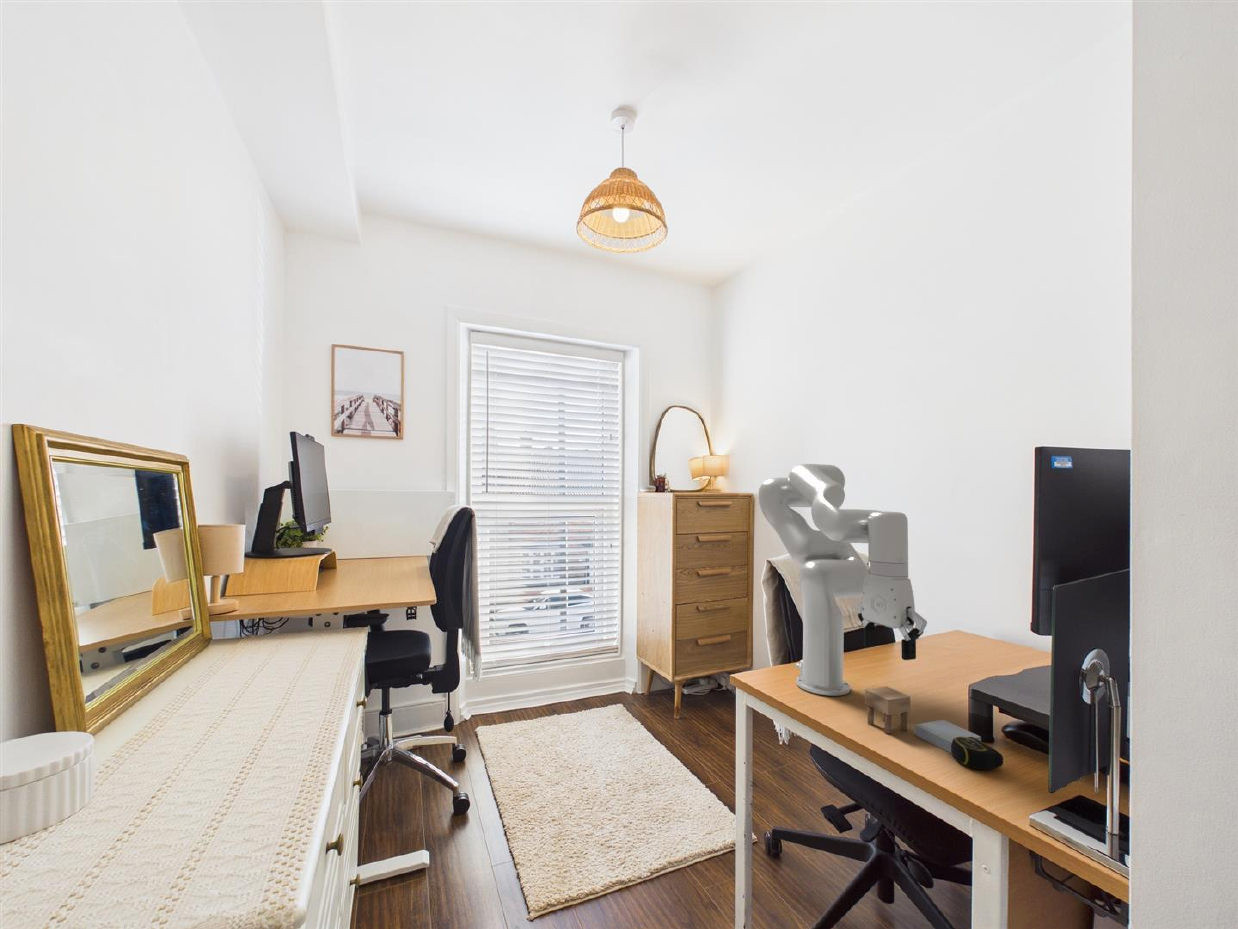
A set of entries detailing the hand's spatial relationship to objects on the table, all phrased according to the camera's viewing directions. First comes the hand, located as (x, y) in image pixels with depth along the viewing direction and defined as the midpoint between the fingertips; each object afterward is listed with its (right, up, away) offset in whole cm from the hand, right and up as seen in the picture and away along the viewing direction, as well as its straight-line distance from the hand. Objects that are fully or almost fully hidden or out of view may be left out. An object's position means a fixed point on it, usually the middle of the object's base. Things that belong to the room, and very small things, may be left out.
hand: (888, 652), depth 112 cm
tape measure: (+9, -16, -14) cm, 23 cm away
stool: (0, -16, 0) cm, 16 cm away
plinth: (+9, -16, -6) cm, 19 cm away
